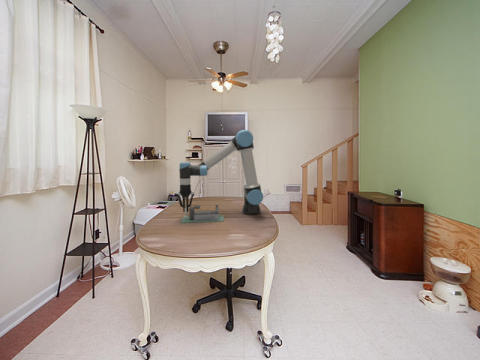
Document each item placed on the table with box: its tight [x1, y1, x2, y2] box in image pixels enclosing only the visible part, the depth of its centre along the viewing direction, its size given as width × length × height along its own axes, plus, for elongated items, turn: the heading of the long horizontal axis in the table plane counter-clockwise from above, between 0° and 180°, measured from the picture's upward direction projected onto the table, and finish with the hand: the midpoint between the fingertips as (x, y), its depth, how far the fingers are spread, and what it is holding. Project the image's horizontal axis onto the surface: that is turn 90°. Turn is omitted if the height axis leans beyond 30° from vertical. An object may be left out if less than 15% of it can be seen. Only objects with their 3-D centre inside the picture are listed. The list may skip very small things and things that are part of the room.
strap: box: [195, 207, 216, 211], centre depth 152 cm, size 17×4×1 cm, turn 95°
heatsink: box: [194, 204, 220, 221], centre depth 153 cm, size 17×11×9 cm, turn 95°
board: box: [179, 214, 224, 224], centre depth 153 cm, size 30×13×1 cm, turn 95°
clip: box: [188, 205, 201, 220], centre depth 152 cm, size 7×6×9 cm
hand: (186, 216), depth 152 cm, fingers closed
